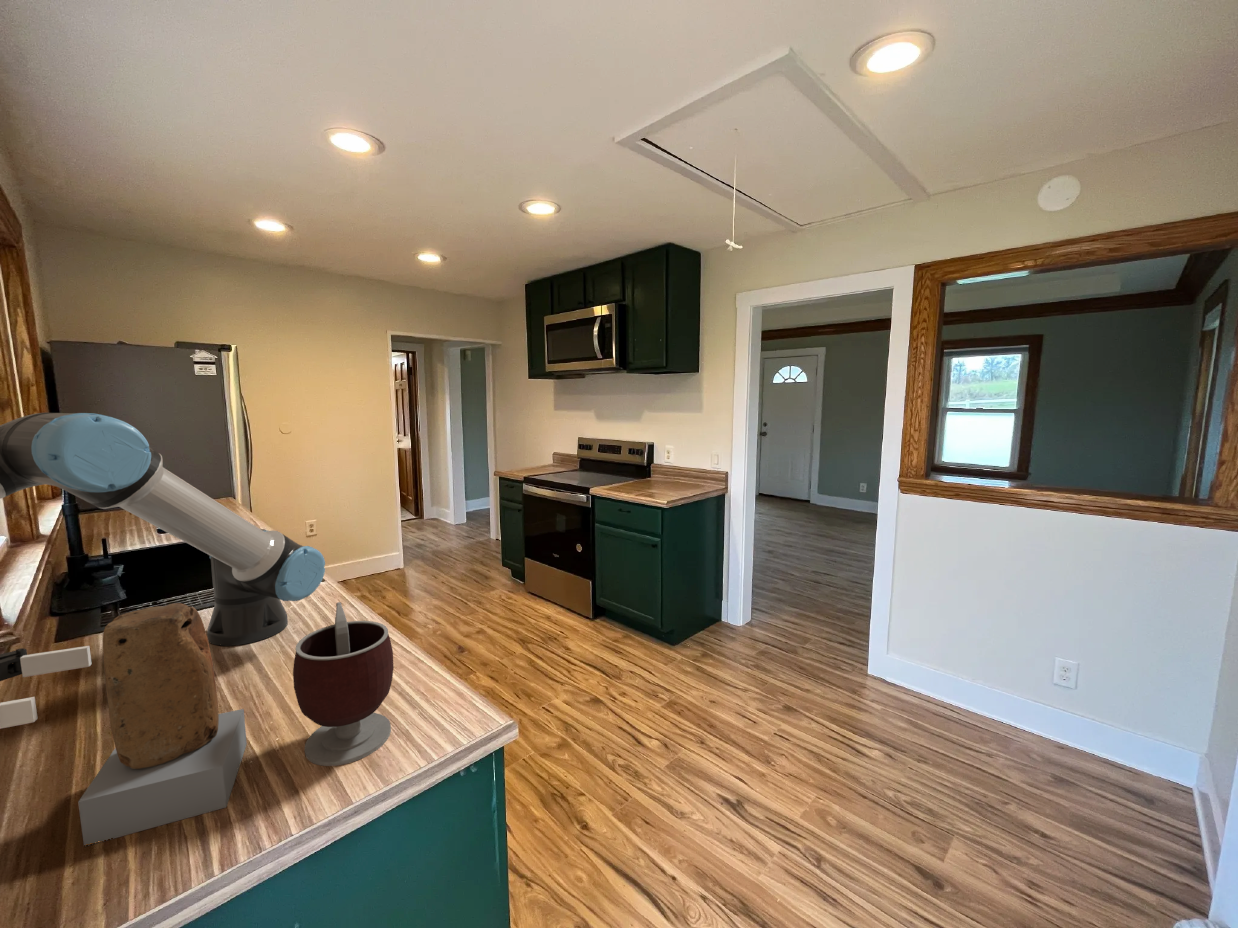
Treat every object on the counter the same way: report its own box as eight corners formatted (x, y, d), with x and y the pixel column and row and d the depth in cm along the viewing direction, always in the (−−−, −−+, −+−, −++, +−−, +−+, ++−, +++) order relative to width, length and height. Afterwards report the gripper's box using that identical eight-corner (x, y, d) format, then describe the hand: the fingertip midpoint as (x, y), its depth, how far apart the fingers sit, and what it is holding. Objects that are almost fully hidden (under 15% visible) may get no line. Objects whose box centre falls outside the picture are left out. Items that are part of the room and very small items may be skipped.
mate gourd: (403, 748, 81) (398, 627, 78) (299, 782, 73) (289, 650, 71) (387, 699, 94) (383, 594, 91) (298, 724, 86) (290, 610, 84)
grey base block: (129, 771, 75) (125, 733, 74) (246, 743, 81) (243, 708, 80) (84, 846, 62) (78, 801, 62) (226, 807, 69) (222, 765, 68)
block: (112, 781, 65) (93, 631, 62) (122, 748, 71) (106, 610, 68) (220, 748, 71) (208, 610, 69) (221, 720, 77) (210, 593, 75)
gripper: (-108, 697, 67) (109, 662, 77) (-336, 846, 45) (9, 771, 55) (-117, 643, 66) (104, 614, 76) (-356, 767, 44) (-1, 705, 54)
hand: (64, 680), depth 65 cm, fingers open, 13 cm apart
